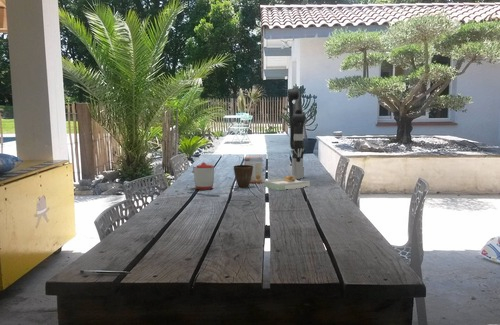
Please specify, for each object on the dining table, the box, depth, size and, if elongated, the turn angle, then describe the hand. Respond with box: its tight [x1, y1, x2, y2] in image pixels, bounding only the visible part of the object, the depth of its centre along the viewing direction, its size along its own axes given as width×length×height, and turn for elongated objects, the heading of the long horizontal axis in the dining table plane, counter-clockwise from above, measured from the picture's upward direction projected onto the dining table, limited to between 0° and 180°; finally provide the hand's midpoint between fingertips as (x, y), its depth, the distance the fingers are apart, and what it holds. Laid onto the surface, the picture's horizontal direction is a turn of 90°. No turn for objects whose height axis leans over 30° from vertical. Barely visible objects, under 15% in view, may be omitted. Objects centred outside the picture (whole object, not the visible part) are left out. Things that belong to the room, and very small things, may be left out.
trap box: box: [263, 178, 311, 191], centre depth 368 cm, size 28×20×4 cm
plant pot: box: [233, 164, 253, 189], centre depth 366 cm, size 15×15×16 cm
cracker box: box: [244, 156, 263, 184], centre depth 387 cm, size 14×6×21 cm, turn 84°
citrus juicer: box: [191, 161, 215, 191], centre depth 361 cm, size 16×17×20 cm
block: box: [284, 175, 296, 182], centre depth 375 cm, size 6×5×4 cm
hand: (298, 161), depth 377 cm, fingers closed
